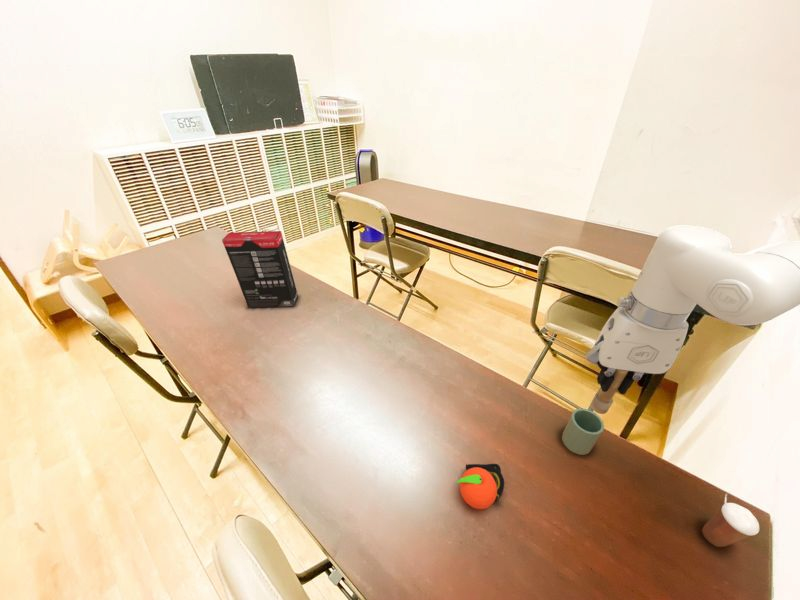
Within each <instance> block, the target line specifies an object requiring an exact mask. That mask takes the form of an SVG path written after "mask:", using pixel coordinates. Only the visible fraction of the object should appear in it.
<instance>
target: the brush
mask: <svg viewBox="0 0 800 600" xmlns="http://www.w3.org/2000/svg"><path fill="white" fill-rule="evenodd" d="M627 373H628V371H627V370H620V369H616V371H615V372H614V374H613V375H614V381H613V382H612V384H611V386H610V388H609V389H608V391H606V392H603V391H602V389H601V388H600V390H599V391H597V392H596V393H595V394H594V396H593V398H592V400H591V401H590V408H591V409H592V410H593V412H594V413H596V414H601V415H605V414H607V413H608V411H609V410H610V409H611V407H612V405H613V403H614V400H613V399H614V396H615V395H616V393H617V391H618V388H619V386H620V385H621V383H622V381H623V380H624V378H625V376H626V375H627Z"/></svg>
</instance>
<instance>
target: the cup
mask: <svg viewBox="0 0 800 600" xmlns="http://www.w3.org/2000/svg"><path fill="white" fill-rule="evenodd" d="M604 429H605V425H604V421H603V419H602V418H601V417H600V416H599V415H598V413H597V412H595V411H592V410H590V409H587V408H577V409H575V410H573V411H572V413H571V415H570V418H569V420H568V421H567V423H566V426H565V428H564V430H563V432H562V434H561V441H562V443H563V445H564V446H565V448H567V450H569V451H570V452H571V453H574V454H576V455H583V456H584V455H588V454H589V453H591V451H592V450H593V448H594V447H595V445H596V443H597V442H598V440H599V438H600V437H601V435H602V434H603V432H604Z"/></svg>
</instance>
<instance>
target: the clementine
mask: <svg viewBox="0 0 800 600" xmlns="http://www.w3.org/2000/svg"><path fill="white" fill-rule="evenodd" d="M456 484H459V490H460V494H461V497H462V499H463V500H464V502H465V503H466V504H467V505H468V506H470V507H471V508H473V509H476V510H485V509H488V508H490V507H491V506H492V505H493V504H494V503H495V502H496V501H495V499H496V496H497V485H496V482H495V480H494V478H493V477H492V475H491V474H490V473H489V472H488V471H486V470H485V469H483V468H479V467H474V468H471V469H468V470H467V471H466V470H465V471H464V472H463V474H462V476H461V477H460V479H458V480H457V481H456V482H455V483H454V485H456ZM494 501H495V502H494Z"/></svg>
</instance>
